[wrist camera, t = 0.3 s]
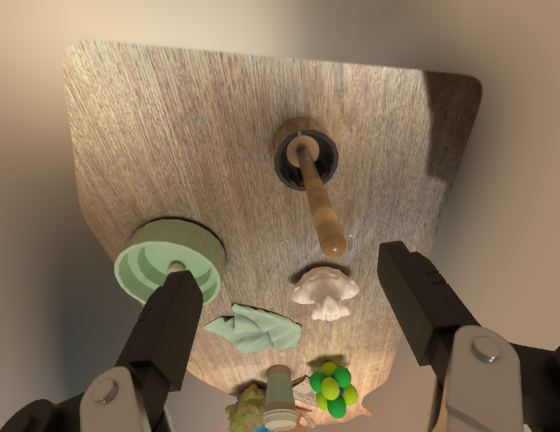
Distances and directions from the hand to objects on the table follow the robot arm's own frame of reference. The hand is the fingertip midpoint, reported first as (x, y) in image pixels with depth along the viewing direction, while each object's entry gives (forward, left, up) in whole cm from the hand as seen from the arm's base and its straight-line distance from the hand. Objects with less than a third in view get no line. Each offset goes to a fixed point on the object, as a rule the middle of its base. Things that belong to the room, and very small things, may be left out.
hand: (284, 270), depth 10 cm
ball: (+27, -8, -22) cm, 36 cm away
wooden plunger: (+1, +4, -23) cm, 24 cm away
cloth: (+44, +10, -24) cm, 51 cm away
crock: (+1, +4, -24) cm, 24 cm away
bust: (+22, +17, -24) cm, 37 cm away
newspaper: (+72, +39, -24) cm, 85 cm away
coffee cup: (+61, +23, -24) cm, 69 cm away
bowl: (+25, -8, -24) cm, 35 cm away
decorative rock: (+75, +19, -24) cm, 81 cm away
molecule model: (+53, +34, -24) cm, 68 cm away
